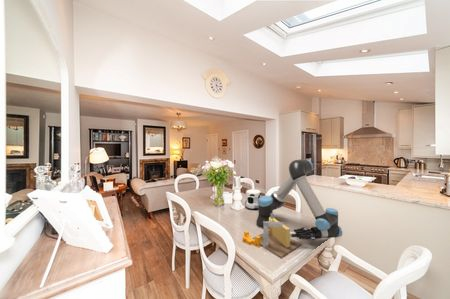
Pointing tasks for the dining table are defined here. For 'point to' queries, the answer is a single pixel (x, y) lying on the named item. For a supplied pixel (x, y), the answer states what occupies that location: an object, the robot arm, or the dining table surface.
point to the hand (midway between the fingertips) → (286, 235)
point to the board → (279, 246)
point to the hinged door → (280, 232)
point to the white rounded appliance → (252, 198)
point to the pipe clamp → (249, 240)
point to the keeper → (265, 230)
